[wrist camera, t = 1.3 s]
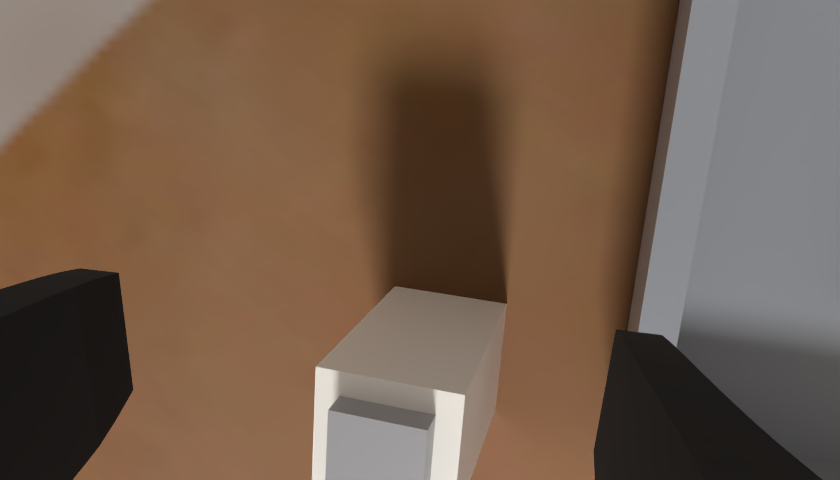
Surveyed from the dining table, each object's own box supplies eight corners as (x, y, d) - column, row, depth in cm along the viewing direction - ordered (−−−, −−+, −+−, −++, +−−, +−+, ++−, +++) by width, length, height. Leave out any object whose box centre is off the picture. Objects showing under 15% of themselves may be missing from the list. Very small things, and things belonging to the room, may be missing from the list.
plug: (495, 409, 25) (444, 552, 18) (388, 388, 26) (299, 516, 19) (507, 304, 24) (458, 410, 17) (395, 286, 25) (303, 379, 18)
